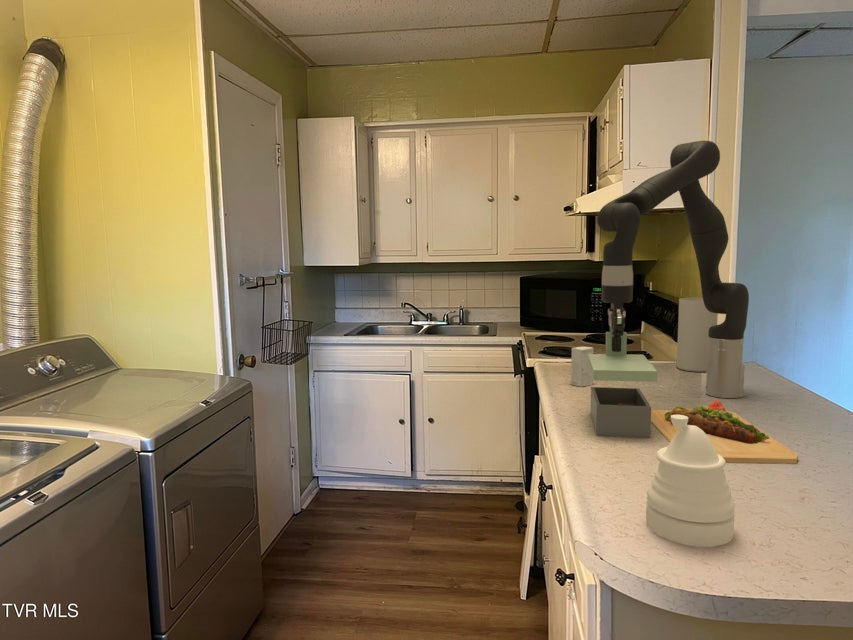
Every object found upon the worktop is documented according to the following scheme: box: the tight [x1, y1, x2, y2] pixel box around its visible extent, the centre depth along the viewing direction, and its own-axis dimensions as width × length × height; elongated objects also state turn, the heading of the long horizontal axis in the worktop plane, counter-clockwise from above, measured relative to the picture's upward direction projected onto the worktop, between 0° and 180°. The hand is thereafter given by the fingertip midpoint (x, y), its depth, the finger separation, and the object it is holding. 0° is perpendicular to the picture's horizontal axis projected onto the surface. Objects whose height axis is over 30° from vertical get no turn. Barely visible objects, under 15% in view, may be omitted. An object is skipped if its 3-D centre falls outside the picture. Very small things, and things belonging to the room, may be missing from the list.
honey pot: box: [645, 415, 736, 548], centre depth 93 cm, size 13×13×18 cm
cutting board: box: [651, 399, 799, 465], centre depth 138 cm, size 35×23×8 cm
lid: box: [588, 331, 658, 383], centre depth 143 cm, size 14×20×8 cm
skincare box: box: [570, 346, 595, 388], centre depth 189 cm, size 6×4×12 cm
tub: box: [589, 386, 652, 439], centre depth 144 cm, size 12×18×8 cm, turn 169°
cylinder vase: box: [676, 297, 719, 373], centre depth 208 cm, size 12×12×25 cm
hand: (615, 350), depth 151 cm, fingers closed on lid, 1 cm apart
